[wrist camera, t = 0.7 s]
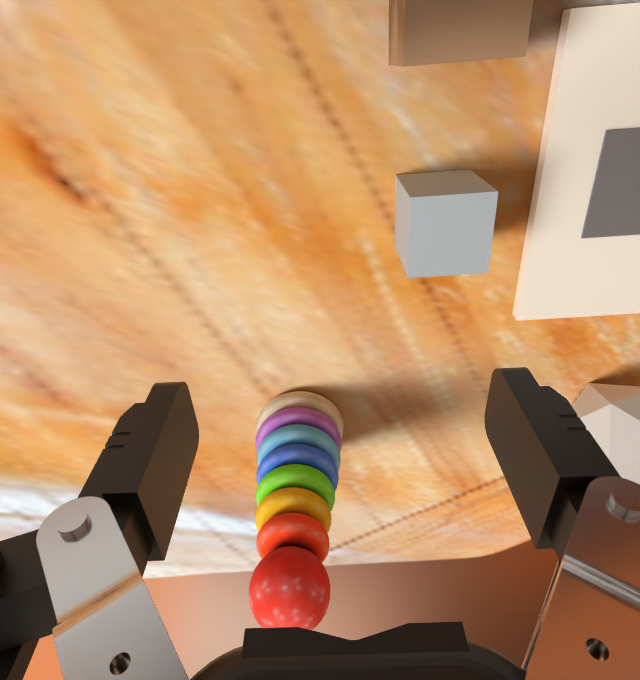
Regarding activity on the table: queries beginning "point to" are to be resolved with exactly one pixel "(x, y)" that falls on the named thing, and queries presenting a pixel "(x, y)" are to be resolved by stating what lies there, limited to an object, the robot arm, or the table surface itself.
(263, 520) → the stacking toy
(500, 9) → the walnut block
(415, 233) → the slate block
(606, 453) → the die
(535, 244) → the cream board
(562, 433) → the robot arm
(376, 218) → the table surface
